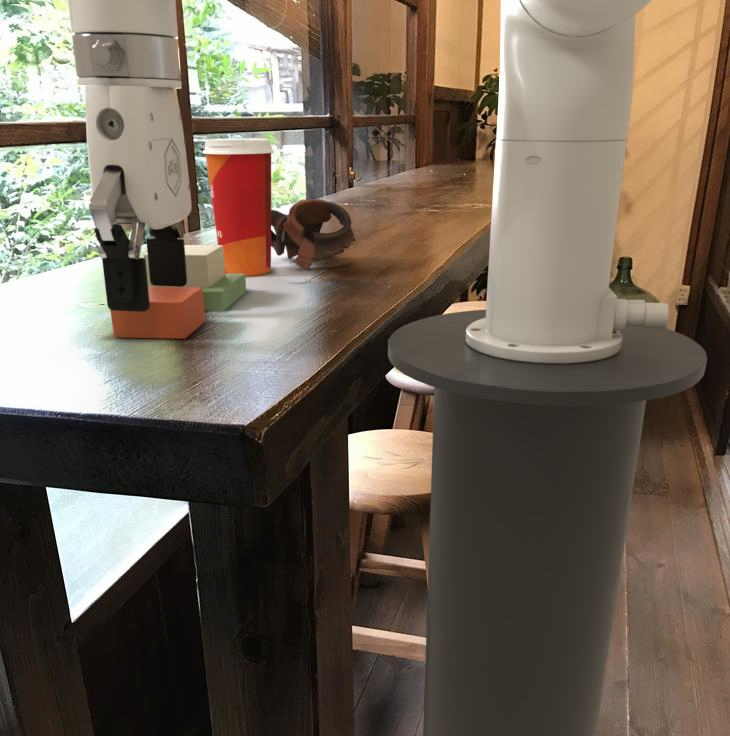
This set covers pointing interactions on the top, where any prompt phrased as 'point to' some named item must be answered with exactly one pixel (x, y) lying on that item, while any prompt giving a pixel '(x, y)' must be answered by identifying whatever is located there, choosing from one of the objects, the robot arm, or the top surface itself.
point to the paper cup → (241, 202)
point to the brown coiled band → (310, 231)
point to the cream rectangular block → (200, 265)
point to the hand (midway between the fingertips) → (150, 296)
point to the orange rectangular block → (163, 315)
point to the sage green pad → (224, 292)
